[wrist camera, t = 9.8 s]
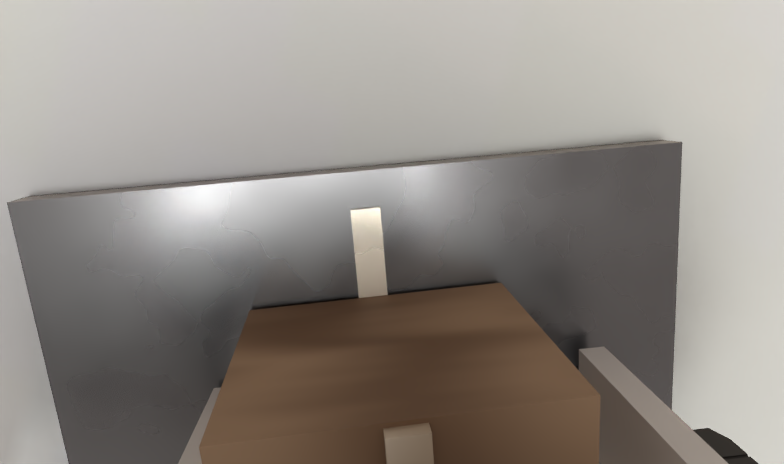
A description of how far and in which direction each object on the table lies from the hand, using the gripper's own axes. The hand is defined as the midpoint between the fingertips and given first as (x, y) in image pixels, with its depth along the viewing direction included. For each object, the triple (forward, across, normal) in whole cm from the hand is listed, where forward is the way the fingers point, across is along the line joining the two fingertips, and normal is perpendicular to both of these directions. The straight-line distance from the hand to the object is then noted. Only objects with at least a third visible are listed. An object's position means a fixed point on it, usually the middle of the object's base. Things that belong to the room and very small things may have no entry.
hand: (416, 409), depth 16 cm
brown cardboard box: (0, -1, 0) cm, 1 cm away
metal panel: (+1, -1, 0) cm, 2 cm away
